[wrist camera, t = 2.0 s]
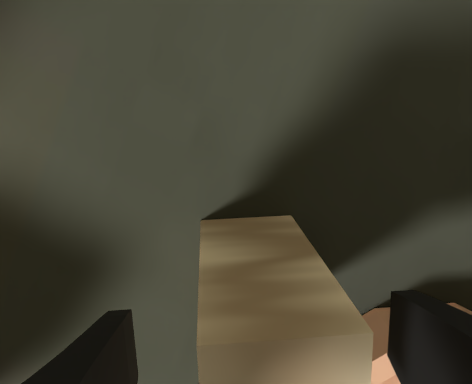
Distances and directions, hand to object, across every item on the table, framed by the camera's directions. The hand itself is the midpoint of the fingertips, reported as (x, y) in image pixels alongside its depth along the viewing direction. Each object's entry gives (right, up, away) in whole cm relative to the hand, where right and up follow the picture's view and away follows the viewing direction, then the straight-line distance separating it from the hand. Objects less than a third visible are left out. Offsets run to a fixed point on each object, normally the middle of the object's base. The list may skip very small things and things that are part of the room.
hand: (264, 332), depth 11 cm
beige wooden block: (0, +1, +5) cm, 5 cm away
